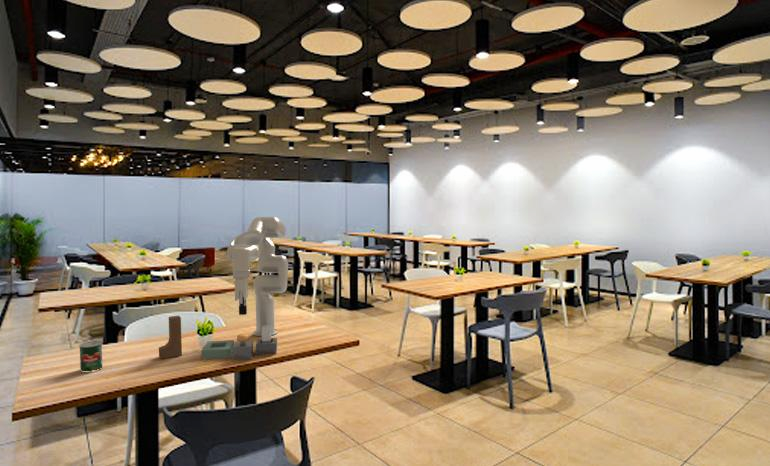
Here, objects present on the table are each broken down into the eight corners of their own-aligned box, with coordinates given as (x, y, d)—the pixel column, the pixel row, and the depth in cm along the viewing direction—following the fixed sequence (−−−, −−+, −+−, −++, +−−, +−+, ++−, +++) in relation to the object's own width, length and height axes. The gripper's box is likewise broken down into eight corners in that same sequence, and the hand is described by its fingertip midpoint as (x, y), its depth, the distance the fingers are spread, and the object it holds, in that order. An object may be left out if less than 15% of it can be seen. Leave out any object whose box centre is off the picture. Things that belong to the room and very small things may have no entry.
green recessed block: (208, 349, 219) (207, 341, 219) (234, 348, 221) (233, 339, 221) (201, 359, 206) (201, 350, 205) (229, 357, 208) (229, 348, 207)
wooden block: (160, 359, 205) (159, 319, 204) (158, 356, 209) (157, 317, 208) (182, 355, 211) (180, 317, 209) (180, 353, 214) (178, 315, 213)
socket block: (257, 348, 220) (257, 338, 220) (277, 347, 222) (276, 337, 221) (256, 355, 211) (255, 344, 211) (276, 353, 213) (275, 343, 212)
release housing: (235, 354, 212) (235, 341, 212) (253, 353, 213) (253, 340, 213) (232, 360, 204) (232, 347, 204) (251, 359, 206) (251, 346, 205)
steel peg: (262, 350, 218) (262, 325, 217) (271, 349, 219) (271, 325, 218) (262, 353, 214) (261, 327, 213) (270, 352, 215) (270, 327, 214)
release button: (238, 353, 211) (237, 334, 210) (249, 352, 212) (249, 333, 211) (236, 357, 206) (236, 337, 205) (248, 356, 207) (247, 336, 206)
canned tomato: (86, 374, 188) (85, 348, 187) (76, 370, 192) (75, 344, 191) (106, 368, 194) (105, 342, 194) (96, 364, 198) (95, 340, 198)
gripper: (235, 271, 213) (236, 310, 215) (230, 277, 198) (231, 319, 200) (252, 271, 214) (253, 309, 216) (248, 277, 200) (249, 318, 202)
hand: (242, 314), depth 208 cm, fingers closed
